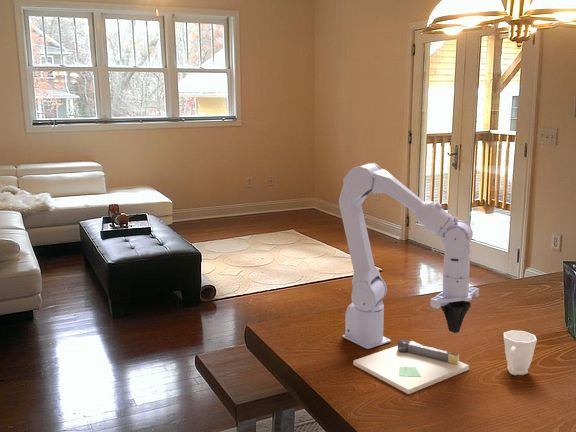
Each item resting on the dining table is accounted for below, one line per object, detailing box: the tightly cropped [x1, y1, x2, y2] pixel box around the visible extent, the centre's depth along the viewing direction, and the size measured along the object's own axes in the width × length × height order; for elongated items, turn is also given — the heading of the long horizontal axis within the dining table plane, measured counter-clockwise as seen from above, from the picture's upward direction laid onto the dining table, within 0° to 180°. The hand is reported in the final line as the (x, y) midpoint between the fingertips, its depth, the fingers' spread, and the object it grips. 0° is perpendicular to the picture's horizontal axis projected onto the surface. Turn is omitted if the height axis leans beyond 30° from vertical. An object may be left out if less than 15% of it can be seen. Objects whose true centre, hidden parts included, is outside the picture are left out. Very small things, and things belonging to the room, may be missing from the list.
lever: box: [397, 339, 460, 365], centre depth 133 cm, size 14×3×2 cm, turn 55°
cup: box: [503, 329, 538, 376], centre depth 126 cm, size 7×10×8 cm
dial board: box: [352, 340, 470, 395], centre depth 130 cm, size 17×19×1 cm
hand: (453, 331), depth 135 cm, fingers closed
